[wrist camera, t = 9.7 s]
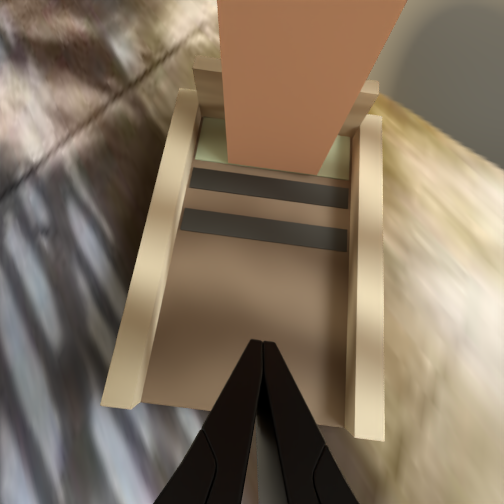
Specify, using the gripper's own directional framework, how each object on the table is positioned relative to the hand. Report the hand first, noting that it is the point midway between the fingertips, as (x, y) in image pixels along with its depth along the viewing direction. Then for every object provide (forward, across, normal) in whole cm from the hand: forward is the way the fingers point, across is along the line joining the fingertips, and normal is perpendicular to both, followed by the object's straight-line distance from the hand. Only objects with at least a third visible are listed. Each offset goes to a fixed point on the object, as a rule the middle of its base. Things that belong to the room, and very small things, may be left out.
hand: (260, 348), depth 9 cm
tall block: (+13, 0, -4) cm, 14 cm away
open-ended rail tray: (+10, 0, +1) cm, 10 cm away
